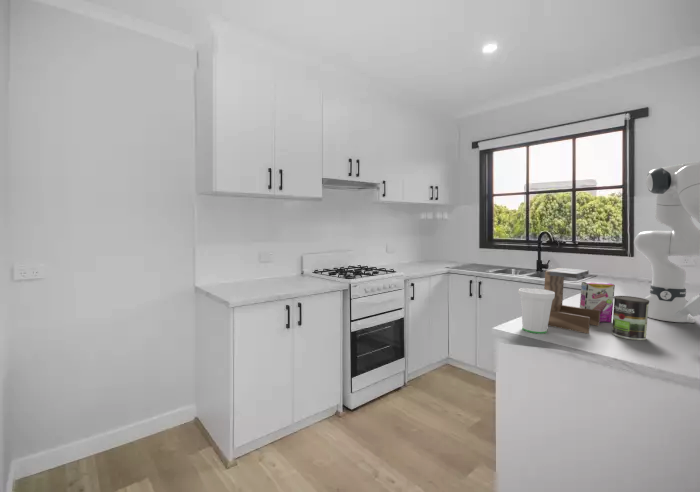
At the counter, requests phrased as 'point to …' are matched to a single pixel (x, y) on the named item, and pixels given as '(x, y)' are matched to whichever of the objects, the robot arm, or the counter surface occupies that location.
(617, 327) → the coffee can
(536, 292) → the cup
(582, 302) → the candy bar box
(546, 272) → the wooden caddy stand
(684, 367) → the counter surface
